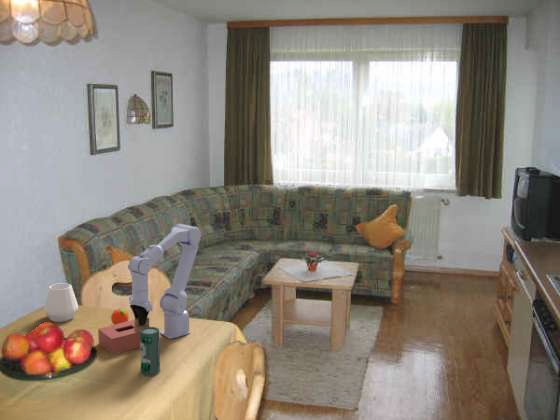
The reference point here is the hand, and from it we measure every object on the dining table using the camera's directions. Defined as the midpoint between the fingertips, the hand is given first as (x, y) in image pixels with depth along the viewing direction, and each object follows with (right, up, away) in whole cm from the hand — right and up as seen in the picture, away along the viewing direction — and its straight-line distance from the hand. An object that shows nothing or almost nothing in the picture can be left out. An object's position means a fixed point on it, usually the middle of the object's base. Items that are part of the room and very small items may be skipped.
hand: (140, 323), depth 210 cm
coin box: (-7, -8, +5) cm, 12 cm away
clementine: (-13, -5, +21) cm, 26 cm away
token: (0, -3, +1) cm, 3 cm away
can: (+7, -13, -17) cm, 23 cm away
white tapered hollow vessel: (-41, -3, +28) cm, 50 cm away
